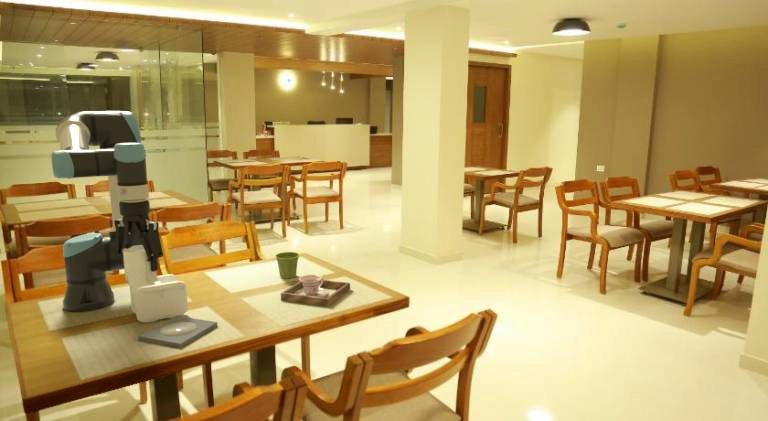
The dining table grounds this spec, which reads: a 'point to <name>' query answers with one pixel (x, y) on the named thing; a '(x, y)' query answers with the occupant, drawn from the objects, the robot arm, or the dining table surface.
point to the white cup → (136, 265)
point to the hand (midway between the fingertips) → (141, 280)
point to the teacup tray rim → (290, 296)
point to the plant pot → (287, 264)
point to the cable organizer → (159, 299)
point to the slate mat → (178, 331)
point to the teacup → (312, 286)
